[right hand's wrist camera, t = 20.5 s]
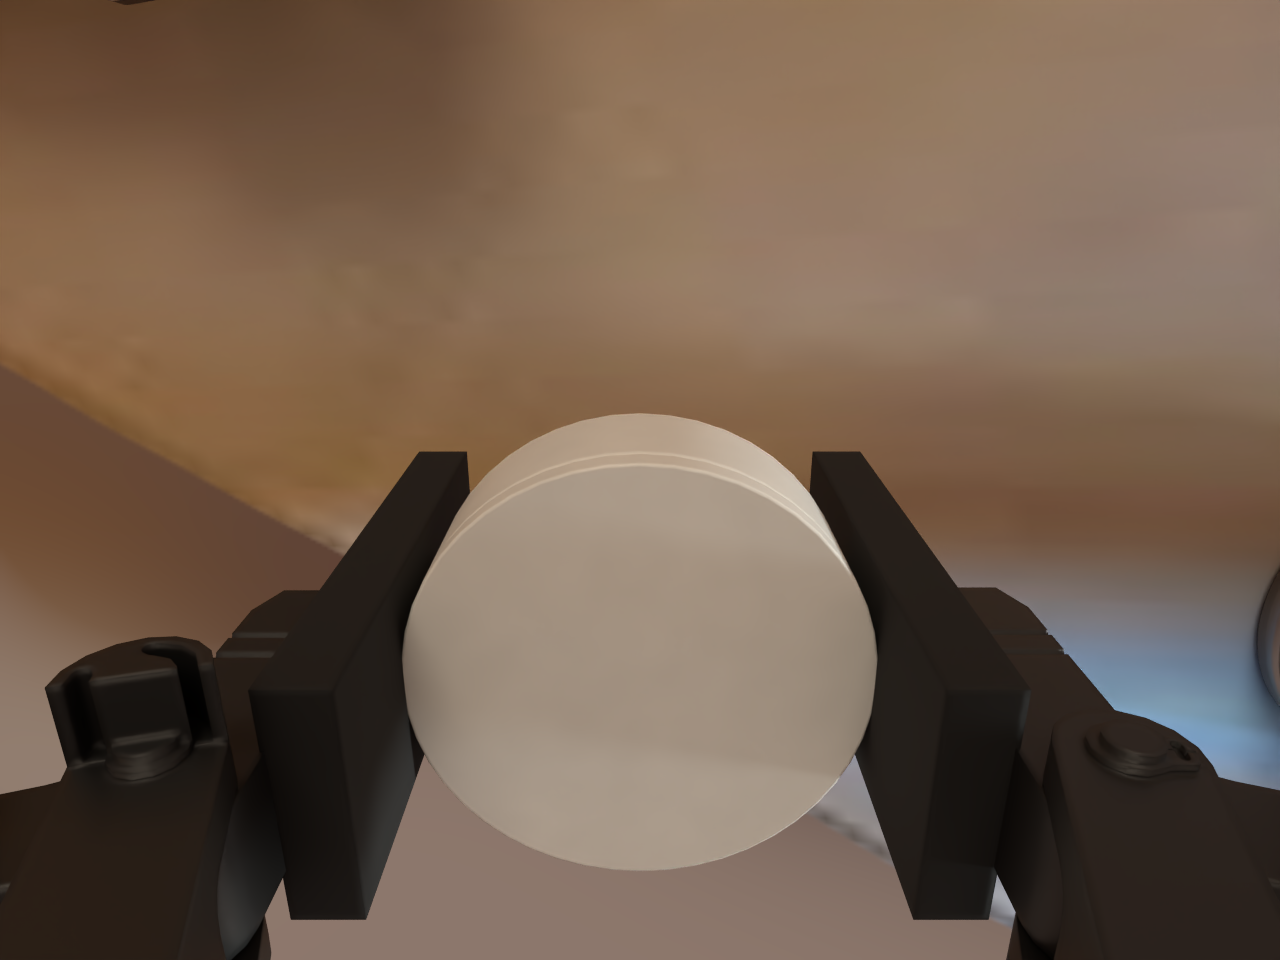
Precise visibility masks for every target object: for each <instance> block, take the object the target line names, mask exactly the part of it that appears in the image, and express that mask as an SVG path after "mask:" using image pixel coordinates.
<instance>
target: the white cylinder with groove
mask: <svg viewBox="0 0 1280 960" xmlns="http://www.w3.org/2000/svg"><path fill="white" fill-rule="evenodd" d="M402 665H403V675H404V685H405V694H406V702H407V710H408V716H409V718H410V721H411V724H412V727H413V730H414V733H415V736H416V738H417V740H418V742H419V744H420V746H421V748H422V750H423V752H424V754H425V756H426V758H427V760H428V762H429V763H430V764H431V766H432V767H433V769H434V770H435V772H436V773H437V774H438V776H439V777H440V779H441V780H442V781H443V783H444V784H445V785H446V786H447V787H448V788H449V789H450V791H451V792H452V793H453V794H454V795H455V796H456V797H457V798H458V799H459V800H460V801H461V802H462V803H463V804H464V805H465V806H466V807H467V808H469V809H470V810H471V811H472V812H473V813H474V814H475V815H477V816H478V817H479V818H480V819H481V820H483V821H484V822H486V823H487V824H489V825H490V826H492V827H493V828H495V829H496V830H498V831H499V832H501V833H502V834H504V835H505V836H507V837H509V838H511V839H513V840H515V841H517V842H519V843H521V844H523V845H525V846H527V847H529V848H531V849H533V850H536V851H539V852H541V853H544V854H547V855H549V856H552V857H555V858H558V859H561V860H565V861H569V862H573V863H576V864H580V865H585V866H591V867H597V868H604V869H610V870H628V871H651V870H669V869H675V868H682V867H688V866H695V865H699V864H703V863H707V862H710V861H714V860H718V859H722V858H725V857H727V856H730V855H733V854H735V853H738V852H741V851H743V850H746V849H749V848H751V847H753V846H755V845H757V844H758V843H760V842H762V841H764V840H766V839H768V838H770V837H772V836H774V835H776V834H777V833H779V832H780V831H782V830H783V829H785V828H786V827H788V826H789V825H791V824H792V823H794V822H795V821H797V820H798V819H799V818H800V817H801V816H803V815H804V814H805V813H806V812H807V811H809V810H810V809H811V808H812V807H813V806H814V805H816V804H817V803H818V802H819V801H820V800H821V799H822V797H823V796H824V795H825V794H826V793H827V792H828V791H829V790H830V789H831V788H832V787H833V786H834V784H835V783H836V782H837V780H838V779H839V778H840V776H841V775H842V773H843V772H844V771H845V769H846V768H847V766H848V765H849V764H850V762H851V760H852V758H853V756H854V755H855V753H856V751H857V749H858V747H859V745H860V743H861V741H862V739H863V737H864V734H865V731H866V728H867V725H868V722H869V720H870V717H871V713H872V705H873V697H874V689H875V679H876V669H877V646H876V637H875V631H874V627H873V623H872V620H871V616H870V613H869V609H868V605H867V603H866V601H865V599H864V597H863V594H862V592H861V590H860V588H859V586H858V583H857V581H856V579H855V577H854V575H853V573H852V571H851V569H850V567H849V565H848V563H847V561H846V559H845V557H844V555H843V553H842V551H841V549H840V547H839V545H838V543H837V541H836V539H835V537H834V535H833V533H832V531H831V529H830V527H829V525H828V523H827V521H826V519H825V517H824V515H823V514H822V512H821V510H820V509H819V507H818V506H817V504H816V503H815V501H814V500H813V498H812V496H811V495H810V494H809V492H808V491H807V490H806V489H805V488H804V487H803V485H802V484H801V483H800V482H799V481H798V480H797V479H796V477H795V476H794V475H793V474H792V473H791V472H790V471H788V470H787V469H786V468H785V467H784V466H783V465H782V464H780V463H779V462H778V461H777V460H776V459H775V458H774V457H772V456H771V455H769V454H768V453H766V452H765V451H763V450H762V449H760V448H759V447H757V446H756V445H754V444H752V443H751V442H749V441H747V440H745V439H743V438H741V437H739V436H737V435H735V434H733V433H731V432H729V431H726V430H724V429H721V428H718V427H715V426H712V425H709V424H706V423H703V422H700V421H697V420H692V419H686V418H681V417H676V416H671V415H659V414H644V413H636V414H620V415H609V416H603V417H598V418H593V419H588V420H583V421H579V422H576V423H573V424H570V425H567V426H564V427H561V428H558V429H555V430H553V431H551V432H549V433H547V434H545V435H543V436H540V437H538V438H536V439H534V440H532V441H530V442H529V443H527V444H525V445H524V446H522V447H521V448H519V449H518V450H516V451H515V452H513V453H512V454H510V455H509V456H507V457H506V458H505V459H504V460H502V461H501V462H500V463H499V464H498V465H497V466H496V467H494V468H493V469H492V470H491V471H490V472H489V473H487V474H486V476H485V477H484V478H483V479H482V480H481V481H480V482H479V484H478V485H477V486H476V487H475V488H474V489H473V490H472V492H471V493H470V494H469V496H468V497H467V499H466V500H465V502H464V503H463V505H462V506H461V508H460V509H459V511H458V512H457V514H456V516H455V518H454V520H453V522H452V524H451V526H450V528H449V530H448V532H447V534H446V536H445V538H444V540H443V542H442V544H441V546H440V548H439V550H438V552H437V554H436V556H435V558H434V560H433V562H432V564H431V566H430V568H429V570H428V572H427V574H426V576H425V578H424V580H423V582H422V584H421V586H420V589H419V591H418V593H417V595H416V597H415V600H414V602H413V604H412V607H411V611H410V614H409V618H408V621H407V625H406V628H405V632H404V640H403V649H402Z"/></svg>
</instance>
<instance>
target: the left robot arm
mask: <svg viewBox="0 0 1280 960" xmlns="http://www.w3.org/2000/svg"><path fill="white" fill-rule="evenodd" d="M110 1H113V2H117V3H121V4H125V5H131V4H136V3H142V2H147V1H153V0H110Z"/></svg>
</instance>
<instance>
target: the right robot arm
mask: <svg viewBox="0 0 1280 960" xmlns="http://www.w3.org/2000/svg"><path fill="white" fill-rule="evenodd" d="M469 494H470V489H469V475H468V462H467V452H419V453H418V454H417V456H416V457H415V458H414V460H413V461H412V463H411V464H410V465H409V467H408V468H407V469H406V471H405V472H404V474H403V475H402V476H401V478H400V479H399V481H398V482H397V483H396V485H395V486H394V488H393V489H392V490H391V492H390V493H389V495H388V496H387V497H386V499H385V500H384V501H383V503H382V504H381V506H380V507H379V508H378V510H377V511H376V513H375V514H374V515H373V517H372V518H371V520H370V521H369V522H368V524H367V525H366V526H365V528H364V529H363V531H362V532H361V533H360V535H359V536H358V538H357V539H356V540H355V542H354V543H353V545H352V546H351V547H350V549H349V550H348V551H347V553H346V554H345V556H344V557H343V558H342V560H341V561H340V563H339V564H338V566H337V567H336V568H335V570H334V571H333V572H332V574H331V575H330V577H329V578H328V579H327V581H326V582H325V584H324V585H323V586H322V588H321V589H320V590H306V591H305V590H303V591H302V590H300V591H298V590H294V591H292V590H286V591H282V592H281V593H279V594H278V595H276V596H274V597H273V598H271V599H269V600H268V601H266V602H264V603H263V604H261V605H259V606H258V607H256V608H255V609H253V610H251V612H250V613H249V614H248V615H247V616H246V618H245V619H244V620H243V621H242V622H241V624H240V625H239V626H238V627H237V628H236V630H235V631H234V632H233V633H232V638H228V639H227V640H226V642H225V643H224V644H223V645H222V646H221V648H220V649H219V650H218V651H217V653H216V658H213V655H212V651H211V650H210V649H209V648H208V647H206V646H205V645H203V644H202V643H201V642H200V641H197V640H192V639H187V638H182V637H177V636H173V637H150V638H144V639H139V640H134V641H130V642H125V643H121V644H116V645H113V646H111V647H108V648H105V649H103V650H100V651H97V652H95V653H92V654H90V655H87V656H85V657H83V658H82V659H80V660H78V661H77V662H75V663H73V664H72V665H70V666H68V667H67V668H65V669H63V670H62V671H60V672H59V673H58V674H57V675H56V677H55V678H54V679H53V680H52V681H51V682H50V683H49V684H48V685H47V686H46V687H45V691H46V694H47V698H48V701H49V704H50V708H51V711H52V715H53V719H54V722H55V726H56V729H57V733H58V736H59V739H60V743H61V747H62V750H63V754H64V757H65V761H66V764H67V768H66V771H65V773H64V775H63V777H62V779H61V781H60V782H56V783H53V784H48V785H45V786H40V787H35V788H30V789H25V790H20V791H15V792H10V793H5V794H0V960H270V958H271V948H270V941H269V934H268V929H267V924H266V919H265V913H266V911H267V909H268V907H269V905H270V903H271V901H272V899H273V897H274V895H275V893H276V890H277V888H278V886H279V884H280V882H281V880H282V878H283V880H284V886H285V891H286V896H287V901H288V907H289V912H290V918H291V920H366V918H367V915H368V913H369V910H370V907H371V904H372V901H373V898H374V896H375V893H376V890H377V887H378V884H379V881H380V879H381V876H382V873H383V870H384V867H385V864H386V862H387V859H388V856H389V853H390V850H391V847H392V845H393V842H394V839H395V836H396V833H397V830H398V828H399V825H400V822H401V819H402V816H403V814H404V811H405V808H406V805H407V802H408V799H409V796H410V794H411V791H412V788H413V785H414V782H415V780H416V777H417V774H418V771H419V768H420V765H421V762H422V760H423V757H424V752H423V750H422V748H421V746H420V744H419V742H418V740H417V738H416V736H415V733H414V730H413V727H412V724H411V721H410V718H409V716H408V710H407V702H406V694H405V685H404V675H403V665H402V649H403V640H404V632H405V628H406V625H407V621H408V618H409V614H410V611H411V607H412V604H413V602H414V600H415V597H416V595H417V593H418V591H419V589H420V586H421V584H422V582H423V580H424V578H425V576H426V574H427V572H428V570H429V568H430V566H431V564H432V562H433V560H434V558H435V556H436V554H437V552H438V550H439V548H440V546H441V544H442V542H443V540H444V538H445V536H446V534H447V532H448V530H449V528H450V526H451V524H452V522H453V520H454V518H455V516H456V514H457V512H458V511H459V509H460V508H461V506H462V505H463V503H464V502H465V500H466V499H467V497H468V496H469ZM810 495H811V496H812V498H813V500H814V501H815V503H816V504H817V506H818V507H819V509H820V510H821V512H822V514H823V515H824V517H825V519H826V521H827V523H828V525H829V527H830V529H831V531H832V533H833V535H834V537H835V539H836V541H837V543H838V545H839V547H840V549H841V551H842V553H843V555H844V557H845V559H846V561H847V563H848V565H849V567H850V569H851V571H852V573H853V575H854V577H855V579H856V581H857V583H858V586H859V588H860V590H861V592H862V594H863V597H864V599H865V601H866V603H867V605H868V609H869V613H870V616H871V620H872V623H873V627H874V631H875V637H876V646H877V669H876V679H875V689H874V697H873V705H872V713H871V717H870V720H869V722H868V725H867V728H866V731H865V734H864V737H863V739H862V741H861V743H860V745H859V747H858V749H857V751H856V753H855V756H856V758H857V761H858V764H859V767H860V770H861V773H862V775H863V778H864V781H865V784H866V787H867V790H868V792H869V795H870V798H871V801H872V804H873V807H874V809H875V812H876V815H877V818H878V821H879V824H880V826H881V829H882V832H883V835H884V838H885V841H886V843H887V846H888V849H889V852H890V855H891V858H892V860H893V863H894V866H895V869H896V872H897V875H898V877H899V880H900V883H901V886H902V889H903V891H904V894H905V897H906V900H907V903H908V906H909V908H910V911H911V914H912V917H913V919H914V920H988V919H989V915H990V909H991V904H992V899H993V893H994V888H995V883H996V877H997V875H998V877H999V879H1000V881H1001V883H1002V885H1003V887H1004V889H1005V891H1006V893H1007V895H1008V897H1009V899H1010V901H1011V903H1012V905H1013V908H1014V910H1015V912H1016V914H1015V919H1014V924H1013V929H1012V934H1011V939H1010V944H1009V949H1008V954H1007V959H1006V960H1280V790H1275V789H1270V788H1265V787H1260V786H1255V785H1250V784H1245V783H1240V782H1235V781H1231V780H1228V779H1224V778H1220V777H1218V775H1217V773H1216V771H1215V769H1214V767H1213V765H1212V764H1211V763H1210V761H1209V760H1208V759H1207V758H1206V756H1205V755H1204V754H1203V753H1202V751H1201V750H1200V749H1199V748H1198V747H1197V746H1196V745H1194V744H1193V743H1191V742H1190V741H1188V740H1187V739H1186V738H1184V737H1183V736H1181V735H1180V734H1179V733H1177V732H1176V731H1174V730H1172V729H1170V728H1167V727H1165V726H1163V725H1161V724H1158V723H1156V722H1154V721H1151V720H1149V719H1147V718H1144V717H1140V716H1136V715H1132V714H1128V713H1124V712H1120V711H1116V710H1114V709H1113V707H1112V706H1111V705H1110V704H1109V703H1108V701H1107V700H1106V699H1105V698H1104V697H1103V695H1102V694H1101V693H1100V692H1099V691H1098V690H1097V688H1096V687H1095V686H1094V685H1093V684H1092V682H1091V681H1090V680H1089V679H1088V678H1087V676H1086V675H1085V674H1084V673H1083V672H1082V671H1081V669H1080V668H1079V667H1078V666H1077V665H1076V663H1075V662H1074V661H1073V660H1072V659H1071V657H1070V656H1069V655H1068V654H1064V649H1063V648H1062V647H1061V646H1060V644H1059V643H1058V642H1057V641H1056V640H1055V638H1054V637H1053V636H1052V635H1048V630H1047V629H1046V628H1045V627H1044V625H1043V624H1042V623H1041V622H1040V621H1039V619H1038V618H1037V617H1036V616H1035V615H1034V613H1033V612H1032V611H1031V610H1030V609H1029V608H1028V607H1027V606H1025V605H1024V604H1022V603H1020V602H1019V601H1017V600H1015V599H1014V598H1012V597H1010V596H1009V595H1007V594H1005V593H1004V592H1002V591H1001V590H999V589H997V588H958V587H957V586H956V584H955V583H954V582H953V580H952V579H951V577H950V576H949V575H948V573H947V572H946V570H945V569H944V568H943V566H942V565H941V563H940V562H939V561H938V559H937V558H936V556H935V555H934V554H933V552H932V551H931V550H930V548H929V547H928V545H927V544H926V543H925V541H924V540H923V538H922V537H921V536H920V534H919V533H918V531H917V530H916V529H915V527H914V526H913V524H912V523H911V522H910V520H909V519H908V518H907V516H906V515H905V513H904V512H903V511H902V509H901V508H900V506H899V505H898V504H897V502H896V501H895V499H894V498H893V497H892V495H891V494H890V493H889V491H888V490H887V488H886V487H885V486H884V484H883V483H882V481H881V480H880V479H879V477H878V476H877V474H876V473H875V472H874V470H873V469H872V467H871V466H870V465H869V463H868V462H867V461H866V459H865V458H864V456H863V455H862V454H861V452H813V455H812V468H811V481H810ZM1257 646H1258V659H1259V665H1260V670H1261V673H1262V676H1263V679H1264V682H1265V684H1266V686H1267V688H1268V690H1269V692H1270V694H1271V695H1272V697H1273V698H1274V700H1275V701H1276V703H1277V704H1278V705H1279V706H1280V571H1279V572H1278V574H1277V576H1276V578H1275V580H1274V582H1273V584H1272V586H1271V588H1270V590H1269V593H1268V595H1267V598H1266V600H1265V603H1264V607H1263V610H1262V613H1261V617H1260V623H1259V629H1258V641H1257Z"/></svg>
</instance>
